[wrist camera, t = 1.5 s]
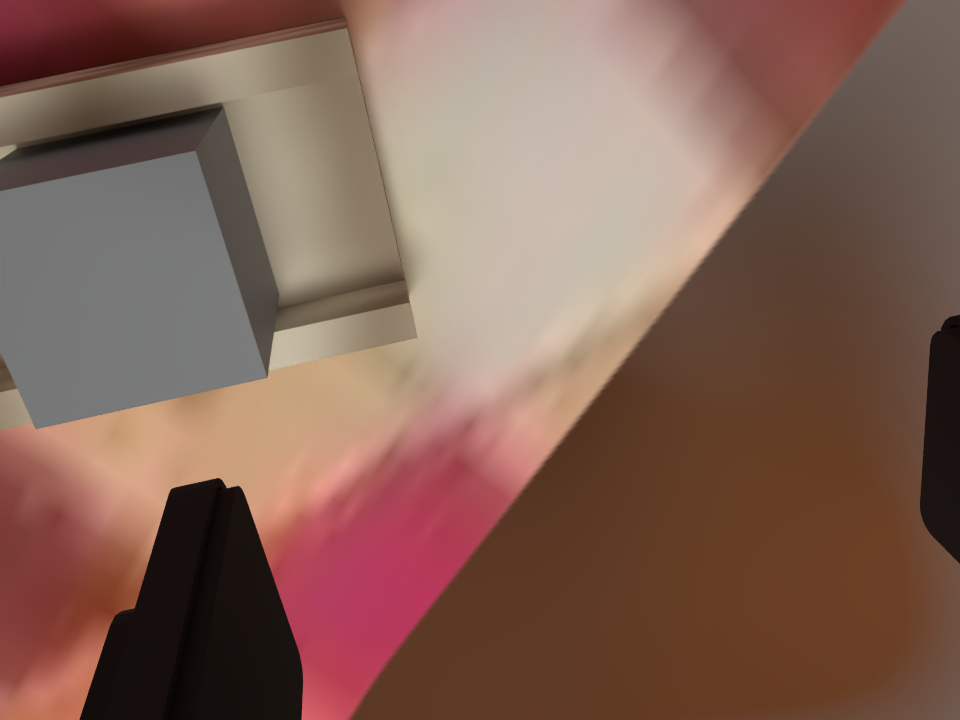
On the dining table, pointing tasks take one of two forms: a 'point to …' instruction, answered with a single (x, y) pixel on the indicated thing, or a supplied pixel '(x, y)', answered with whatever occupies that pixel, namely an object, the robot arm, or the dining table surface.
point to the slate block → (131, 269)
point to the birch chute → (259, 173)
